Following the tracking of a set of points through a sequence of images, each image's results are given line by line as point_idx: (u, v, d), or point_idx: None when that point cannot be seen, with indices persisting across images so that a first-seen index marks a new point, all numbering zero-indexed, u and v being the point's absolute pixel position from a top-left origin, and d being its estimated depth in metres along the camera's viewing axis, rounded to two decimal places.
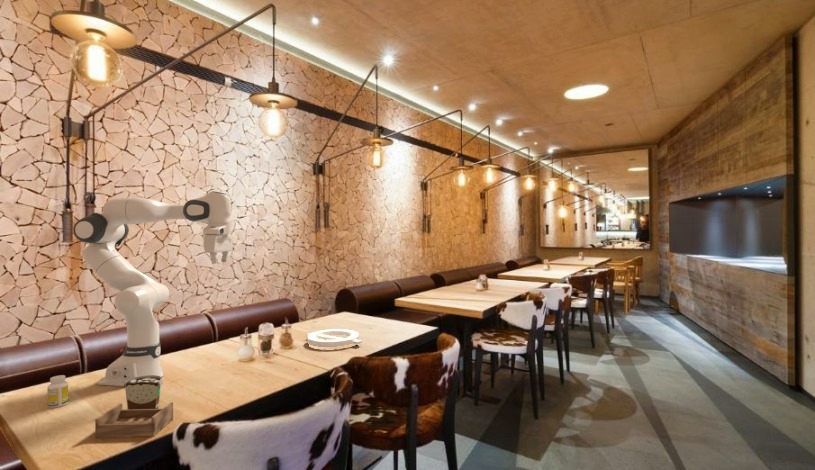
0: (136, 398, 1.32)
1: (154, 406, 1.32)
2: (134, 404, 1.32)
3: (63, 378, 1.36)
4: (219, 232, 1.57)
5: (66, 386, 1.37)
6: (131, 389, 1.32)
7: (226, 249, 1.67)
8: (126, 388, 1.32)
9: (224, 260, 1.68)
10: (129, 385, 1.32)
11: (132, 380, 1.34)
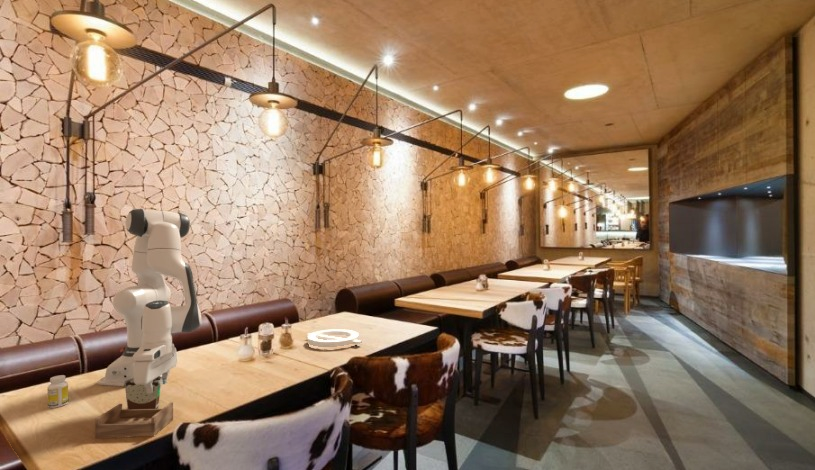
0: (136, 398, 1.32)
1: (154, 406, 1.32)
2: (134, 404, 1.32)
3: (63, 378, 1.36)
4: (153, 358, 1.28)
5: (66, 386, 1.37)
6: (131, 389, 1.32)
7: (167, 369, 1.38)
8: (126, 388, 1.32)
9: (164, 382, 1.39)
10: (129, 385, 1.32)
11: (132, 380, 1.34)
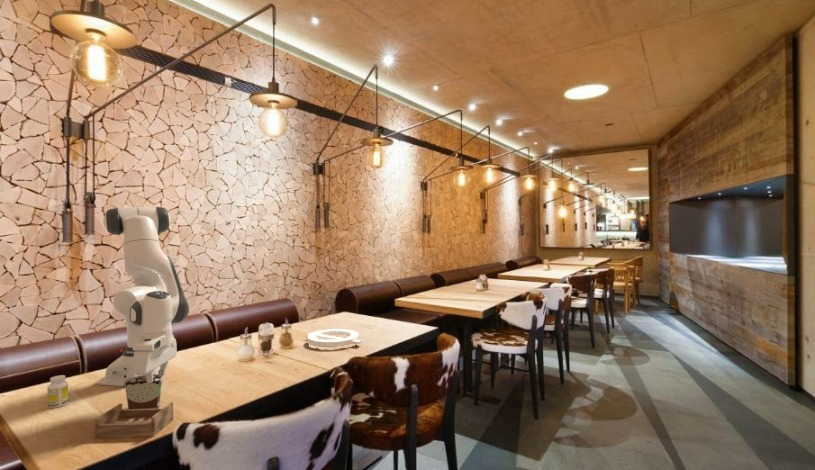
0: (137, 397, 1.33)
1: (156, 404, 1.33)
2: (135, 403, 1.32)
3: (63, 378, 1.36)
4: (153, 348, 1.28)
5: (66, 386, 1.37)
6: (131, 388, 1.32)
7: (166, 359, 1.39)
8: (126, 388, 1.32)
9: (162, 373, 1.38)
10: (129, 385, 1.32)
11: (132, 380, 1.34)
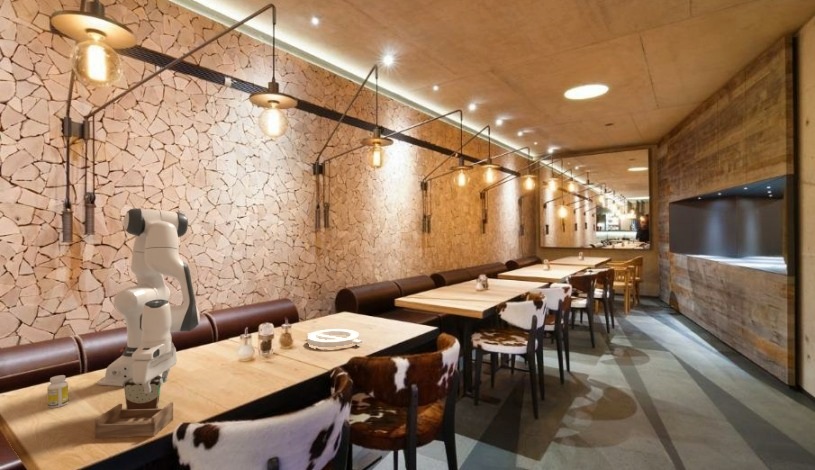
0: (136, 398, 1.32)
1: (155, 405, 1.33)
2: (133, 404, 1.32)
3: (63, 378, 1.36)
4: (152, 357, 1.28)
5: (66, 386, 1.37)
6: (130, 389, 1.32)
7: (166, 368, 1.38)
8: (125, 388, 1.32)
9: (164, 380, 1.40)
10: (128, 385, 1.32)
11: (130, 380, 1.34)
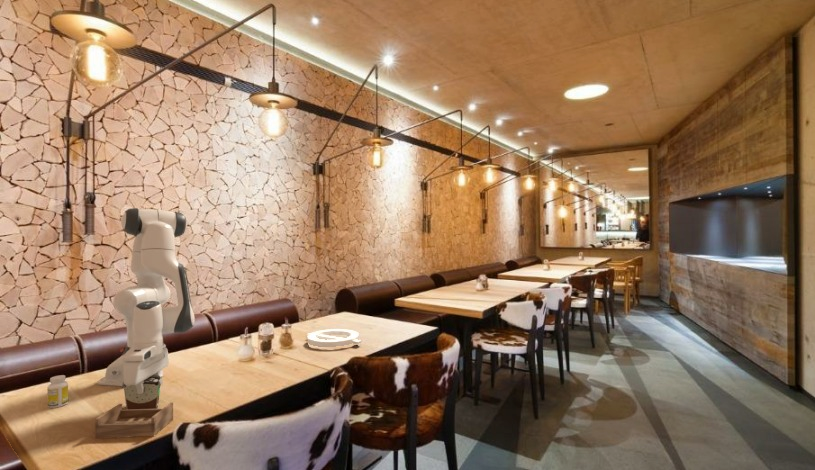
0: (135, 398, 1.32)
1: (155, 405, 1.33)
2: (133, 404, 1.32)
3: (63, 378, 1.36)
4: (143, 358, 1.28)
5: (66, 386, 1.37)
6: (130, 389, 1.32)
7: (157, 369, 1.38)
8: (125, 388, 1.32)
9: None
10: None
11: None
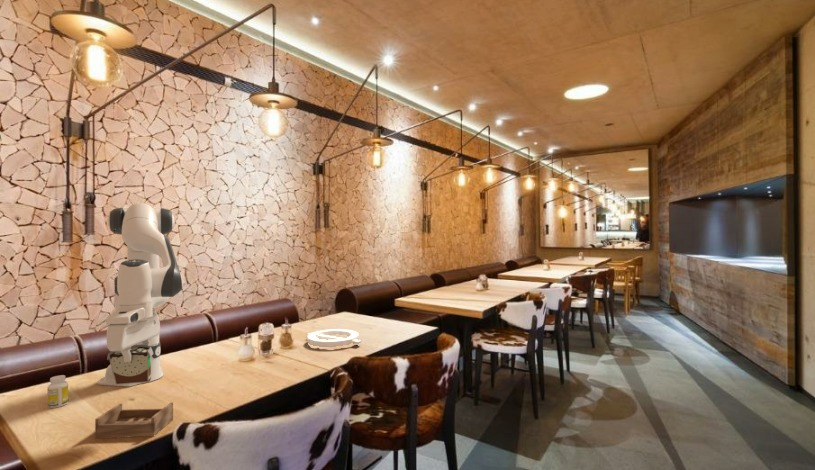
0: (124, 371, 1.17)
1: (146, 378, 1.18)
2: (122, 377, 1.17)
3: (63, 378, 1.36)
4: (130, 321, 1.12)
5: (66, 386, 1.37)
6: (117, 361, 1.17)
7: (147, 336, 1.23)
8: (111, 361, 1.16)
9: None
10: (114, 357, 1.16)
11: (117, 351, 1.18)
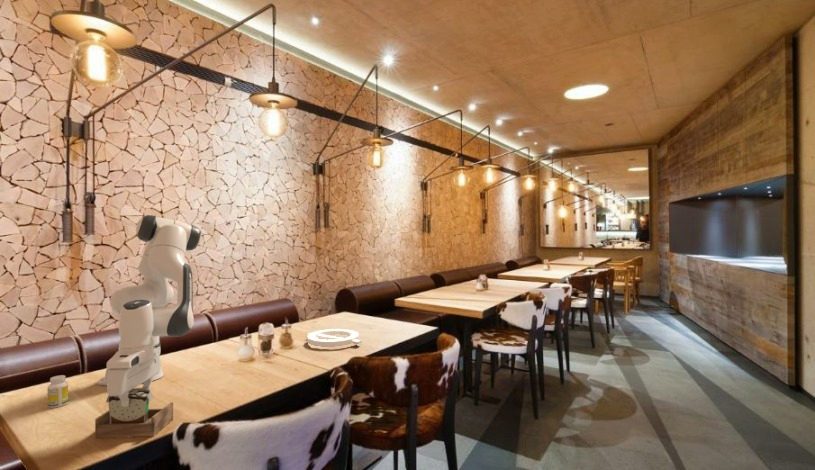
0: (121, 415, 1.16)
1: None
2: (118, 422, 1.16)
3: (63, 378, 1.36)
4: (130, 365, 1.12)
5: (66, 386, 1.37)
6: (115, 405, 1.16)
7: (147, 377, 1.23)
8: (109, 404, 1.16)
9: None
10: (113, 400, 1.16)
11: None
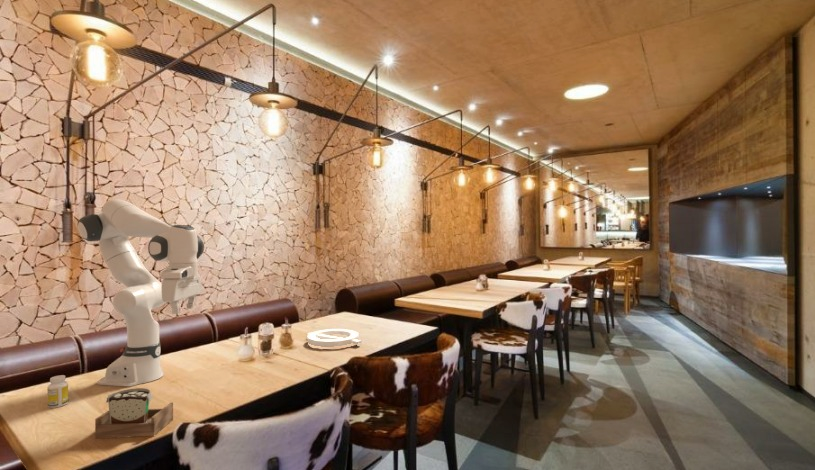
0: (121, 415, 1.16)
1: None
2: (118, 422, 1.16)
3: (63, 378, 1.36)
4: (181, 276, 1.29)
5: (66, 386, 1.37)
6: (115, 405, 1.16)
7: (192, 293, 1.39)
8: (109, 404, 1.16)
9: (190, 306, 1.40)
10: (113, 400, 1.16)
11: (116, 394, 1.18)
